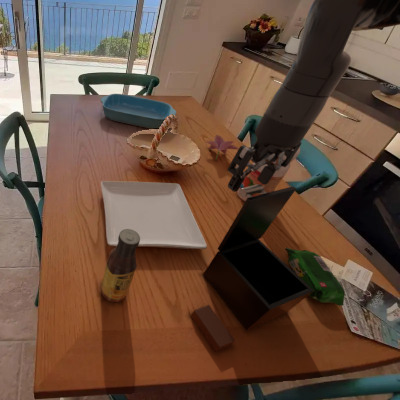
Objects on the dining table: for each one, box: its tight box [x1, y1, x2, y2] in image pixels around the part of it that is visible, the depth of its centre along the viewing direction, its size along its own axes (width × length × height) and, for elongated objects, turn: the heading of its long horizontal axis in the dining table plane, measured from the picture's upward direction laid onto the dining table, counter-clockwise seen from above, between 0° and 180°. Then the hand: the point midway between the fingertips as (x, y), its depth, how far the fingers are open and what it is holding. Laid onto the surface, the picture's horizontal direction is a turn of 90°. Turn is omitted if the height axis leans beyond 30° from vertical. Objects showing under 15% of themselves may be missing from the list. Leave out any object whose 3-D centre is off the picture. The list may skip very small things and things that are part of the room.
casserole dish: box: [100, 93, 177, 130], centre depth 132 cm, size 37×22×7 cm, turn 71°
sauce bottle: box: [100, 229, 140, 303], centre depth 57 cm, size 7×6×20 cm
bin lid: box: [217, 184, 297, 251], centre depth 60 cm, size 16×13×6 cm
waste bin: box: [202, 239, 314, 331], centre depth 62 cm, size 15×13×10 cm
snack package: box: [284, 247, 346, 306], centre depth 67 cm, size 7×16×5 cm, turn 177°
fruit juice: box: [236, 146, 301, 202], centre depth 84 cm, size 9×9×28 cm
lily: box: [204, 134, 240, 160], centre depth 109 cm, size 12×12×10 cm
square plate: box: [100, 180, 208, 250], centre depth 81 cm, size 27×27×4 cm
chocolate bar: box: [190, 304, 236, 353], centre depth 57 cm, size 8×4×2 cm, turn 20°
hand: (247, 185), depth 58 cm, fingers open, 8 cm apart
